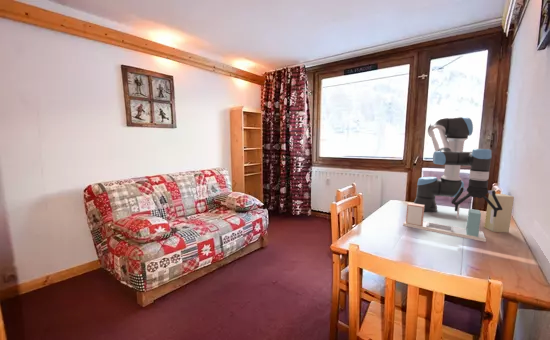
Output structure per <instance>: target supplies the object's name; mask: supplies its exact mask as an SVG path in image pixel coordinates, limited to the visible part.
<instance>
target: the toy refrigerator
mask: <svg viewBox="0 0 550 340" xmlns="http://www.w3.org/2000/svg"><path fill="white" fill-rule="evenodd" d="M495 194H496V197H497V199H498V201H499V203H500V205H501V207H502V210H498V211H497V215H496V217H493V224H492V223H490V217H491V209H492V210H494V209H493V208H492V207H491V206H490V205H489V204H488V203H486V204H487V205H486V213H485V220H484V221H485V222H484V229H486V230H489V231H490V232H492V233H509V232H510V228H511V227H510V226H511V219H512V213H513V208H514V207H513V206H514V200H515V197H514V196H513V195H508V194H507V193H506V194H504V193H495ZM487 198H488V199H489V200H490V201H491V203H492V204H493V205H494V206H495V207H498V206H497V204H496V202H495V200H494V198H493V196H492V195H490V193H488V197H487Z"/></svg>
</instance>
